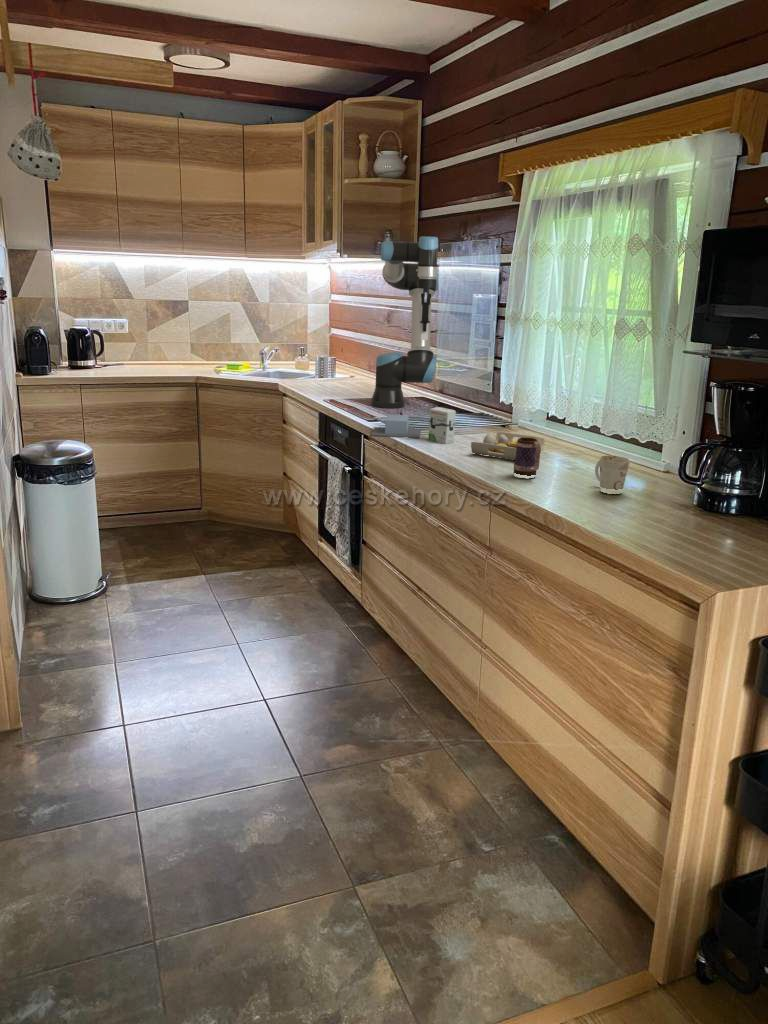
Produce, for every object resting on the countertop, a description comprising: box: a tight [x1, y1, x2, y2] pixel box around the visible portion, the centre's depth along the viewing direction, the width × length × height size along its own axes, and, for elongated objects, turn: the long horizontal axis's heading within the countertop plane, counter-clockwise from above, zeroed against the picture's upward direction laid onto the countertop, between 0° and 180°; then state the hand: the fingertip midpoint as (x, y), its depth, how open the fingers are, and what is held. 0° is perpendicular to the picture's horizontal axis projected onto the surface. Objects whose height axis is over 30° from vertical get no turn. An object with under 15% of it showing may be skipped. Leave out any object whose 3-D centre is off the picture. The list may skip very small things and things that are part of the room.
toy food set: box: [470, 431, 546, 461], centre depth 272 cm, size 25×18×8 cm
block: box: [384, 414, 410, 435], centre depth 299 cm, size 5×8×12 cm
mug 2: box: [513, 437, 542, 476], centre depth 240 cm, size 10×7×12 cm
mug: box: [594, 455, 631, 490], centre depth 229 cm, size 8×13×10 cm, turn 24°
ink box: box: [427, 406, 457, 445], centre depth 285 cm, size 9×5×12 cm, turn 47°
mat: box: [370, 426, 422, 439], centre depth 298 cm, size 14×18×1 cm
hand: (424, 339), depth 316 cm, fingers closed
